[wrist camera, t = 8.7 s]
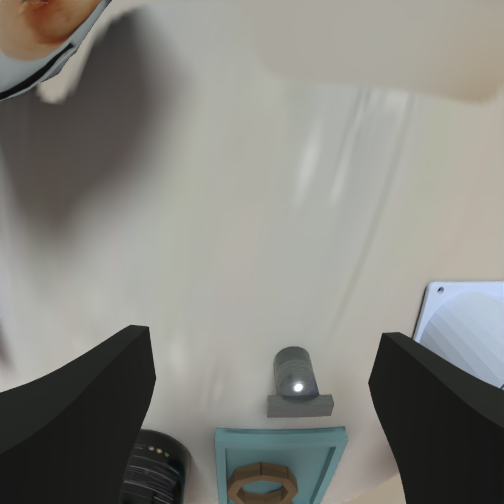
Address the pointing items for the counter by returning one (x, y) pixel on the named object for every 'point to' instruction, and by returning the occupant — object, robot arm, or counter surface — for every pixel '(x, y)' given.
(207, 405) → the counter surface
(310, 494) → the tray
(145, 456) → the supplement bottle
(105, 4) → the lucky cat figurine
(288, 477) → the ring
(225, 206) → the counter surface
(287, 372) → the grey cylinder and bar
